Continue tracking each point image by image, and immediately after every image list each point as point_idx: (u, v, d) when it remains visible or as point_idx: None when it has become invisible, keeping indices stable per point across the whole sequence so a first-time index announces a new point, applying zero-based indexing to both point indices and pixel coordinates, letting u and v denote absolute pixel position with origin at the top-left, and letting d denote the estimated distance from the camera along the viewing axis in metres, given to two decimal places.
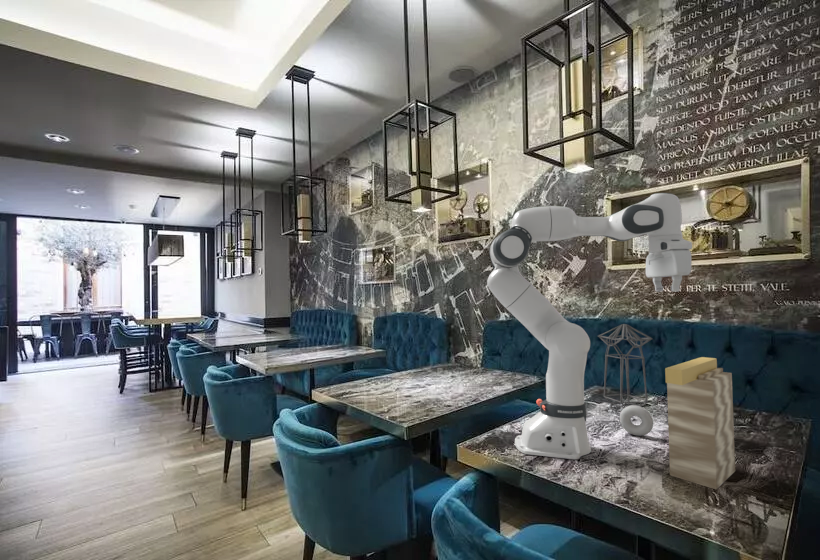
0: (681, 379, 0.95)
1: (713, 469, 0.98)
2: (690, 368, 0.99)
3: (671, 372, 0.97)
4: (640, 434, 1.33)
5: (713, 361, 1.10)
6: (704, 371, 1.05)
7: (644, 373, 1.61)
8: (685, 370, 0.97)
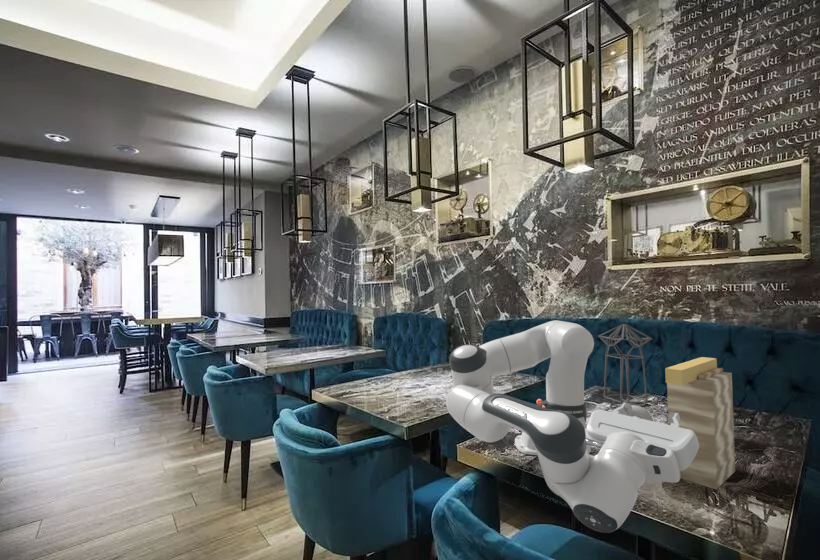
0: (681, 379, 0.95)
1: (713, 469, 0.98)
2: (690, 368, 0.99)
3: (671, 372, 0.97)
4: None
5: (713, 361, 1.10)
6: (704, 371, 1.05)
7: (644, 373, 1.61)
8: (685, 370, 0.97)
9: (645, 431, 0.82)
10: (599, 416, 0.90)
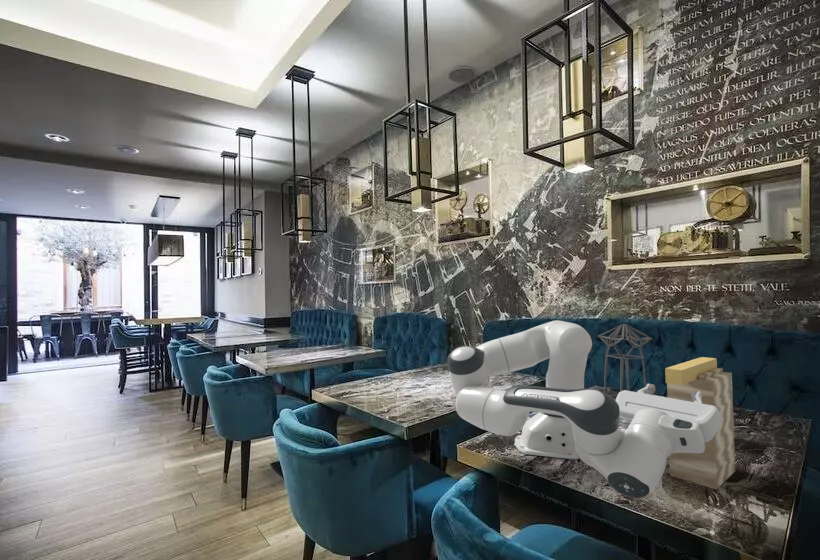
0: (681, 379, 0.95)
1: (713, 469, 0.98)
2: (690, 368, 0.99)
3: (671, 372, 0.97)
4: None
5: (713, 361, 1.10)
6: (704, 371, 1.05)
7: (644, 373, 1.61)
8: (685, 370, 0.97)
9: (670, 408, 0.89)
10: (625, 396, 0.97)
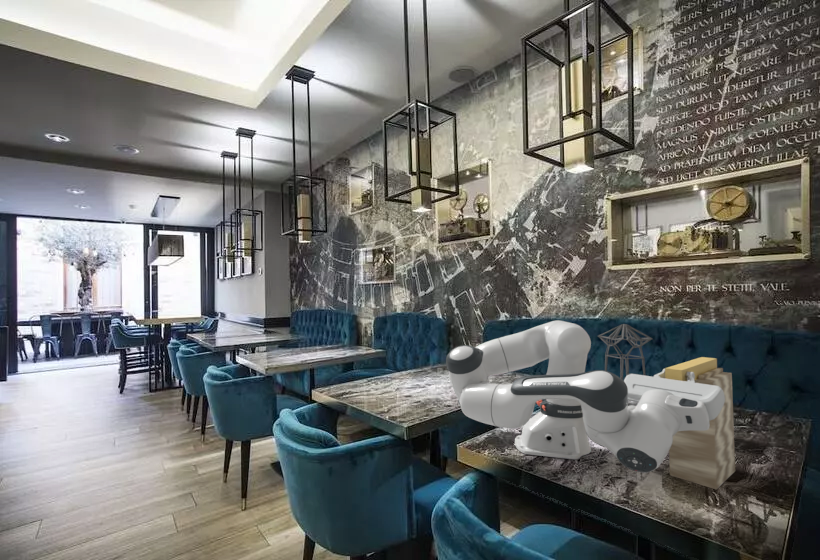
0: (681, 379, 0.95)
1: (713, 469, 0.98)
2: (690, 368, 0.99)
3: (671, 372, 0.97)
4: None
5: (713, 361, 1.10)
6: (704, 371, 1.05)
7: (644, 373, 1.61)
8: (685, 370, 0.97)
9: (676, 388, 0.93)
10: (632, 379, 1.01)
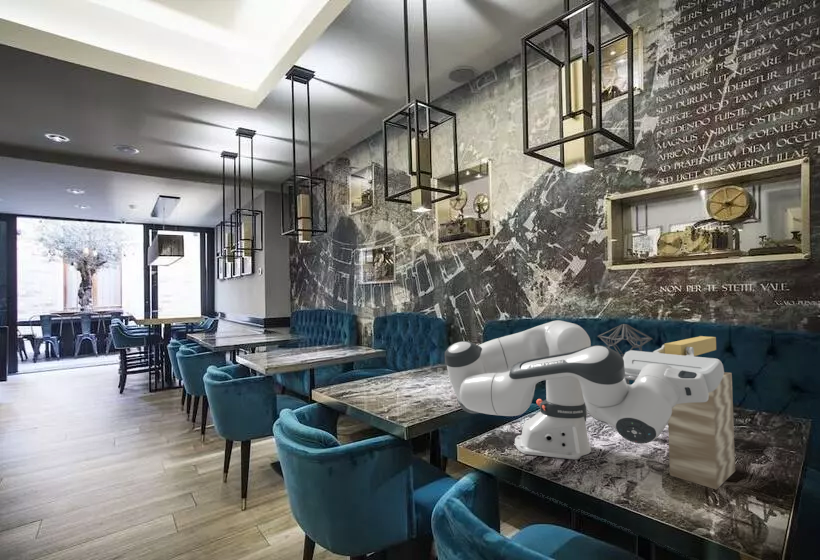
0: (680, 354, 0.96)
1: (713, 469, 0.98)
2: (689, 344, 0.99)
3: (671, 348, 0.97)
4: None
5: (712, 339, 1.10)
6: (703, 348, 1.05)
7: None
8: (684, 345, 0.97)
9: (675, 362, 0.93)
10: (631, 355, 1.01)
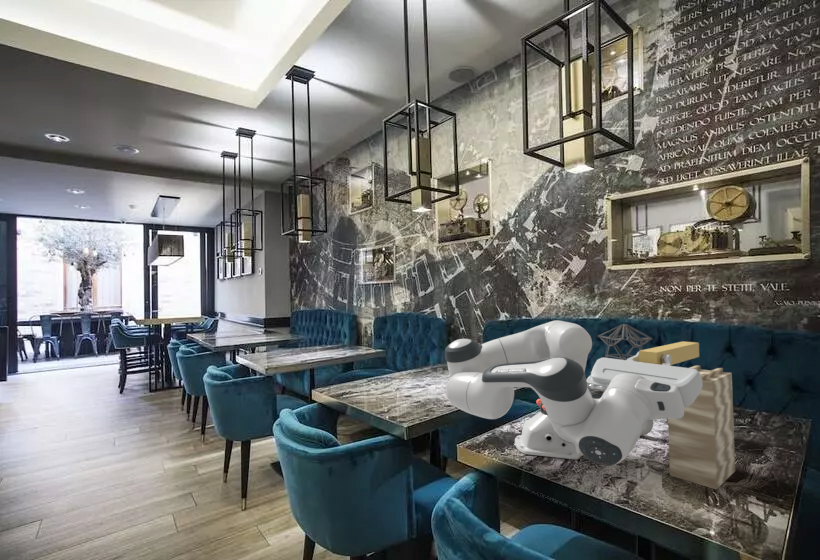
0: (656, 362, 0.86)
1: (713, 469, 0.98)
2: (667, 351, 0.89)
3: (645, 355, 0.87)
4: None
5: (695, 345, 1.00)
6: (684, 355, 0.95)
7: None
8: (661, 353, 0.87)
9: (649, 372, 0.83)
10: (603, 363, 0.91)
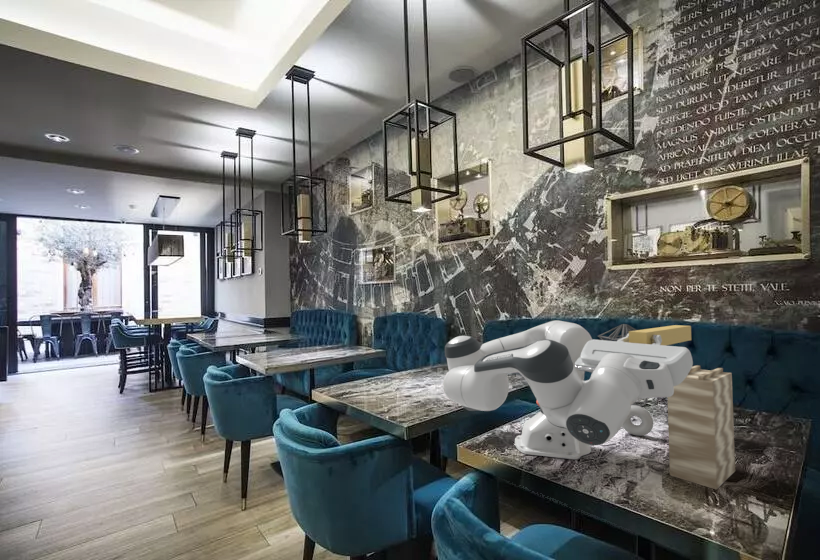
0: (645, 343, 0.84)
1: (713, 469, 0.98)
2: (657, 332, 0.88)
3: (635, 336, 0.86)
4: (640, 434, 1.33)
5: (686, 328, 0.98)
6: (675, 338, 0.94)
7: None
8: (651, 333, 0.85)
9: (639, 352, 0.81)
10: (593, 345, 0.89)
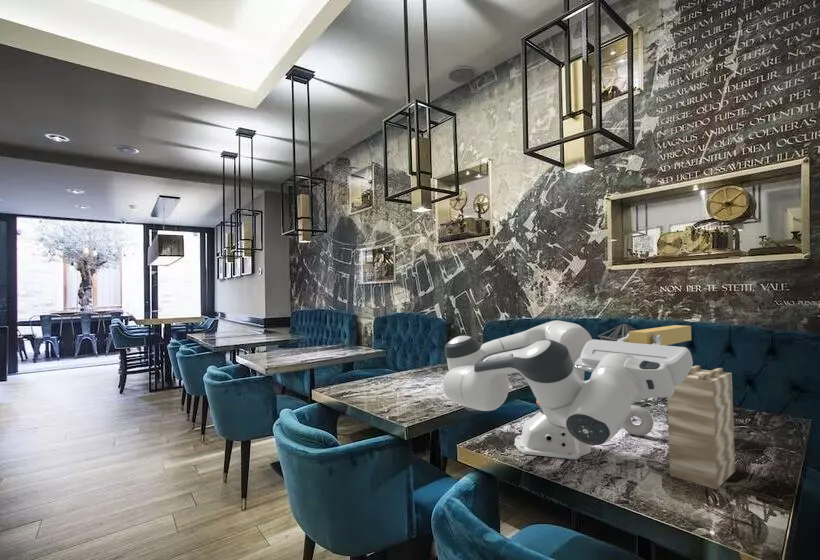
0: (646, 343, 0.84)
1: (713, 469, 0.98)
2: (657, 332, 0.88)
3: (635, 336, 0.86)
4: (640, 434, 1.33)
5: (686, 328, 0.98)
6: (675, 338, 0.94)
7: None
8: (651, 333, 0.85)
9: (639, 352, 0.81)
10: (593, 345, 0.89)
